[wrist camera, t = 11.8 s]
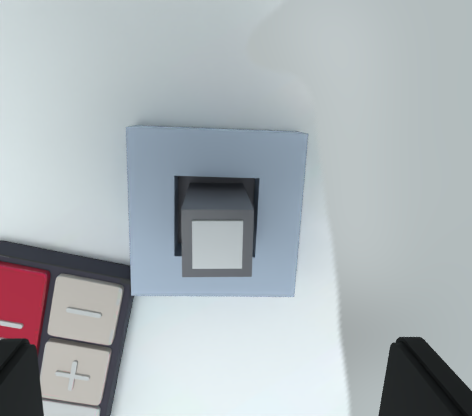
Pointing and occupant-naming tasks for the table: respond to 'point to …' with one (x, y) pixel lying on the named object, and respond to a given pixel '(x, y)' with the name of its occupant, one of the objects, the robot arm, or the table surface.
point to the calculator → (67, 323)
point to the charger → (217, 231)
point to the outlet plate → (213, 171)
